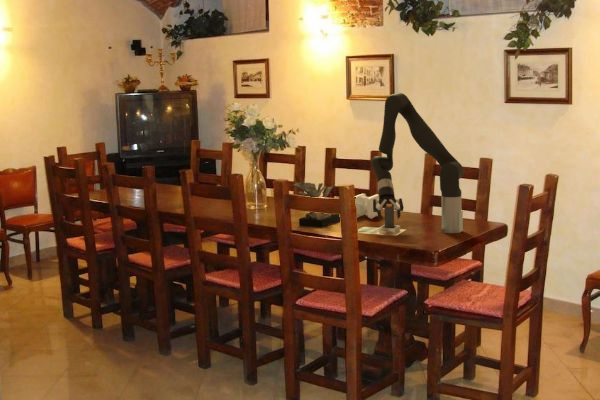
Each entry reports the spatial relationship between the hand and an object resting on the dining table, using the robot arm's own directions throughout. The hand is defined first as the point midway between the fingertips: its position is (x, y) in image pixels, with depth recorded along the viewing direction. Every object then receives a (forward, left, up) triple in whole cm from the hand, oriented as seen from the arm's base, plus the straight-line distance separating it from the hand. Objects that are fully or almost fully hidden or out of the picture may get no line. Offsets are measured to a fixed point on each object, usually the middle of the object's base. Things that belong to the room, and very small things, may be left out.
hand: (389, 218), depth 351 cm
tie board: (+5, -1, -8) cm, 10 cm away
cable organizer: (+26, -39, -8) cm, 48 cm away
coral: (+46, -15, -8) cm, 49 cm away
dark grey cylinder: (0, -1, -7) cm, 7 cm away
